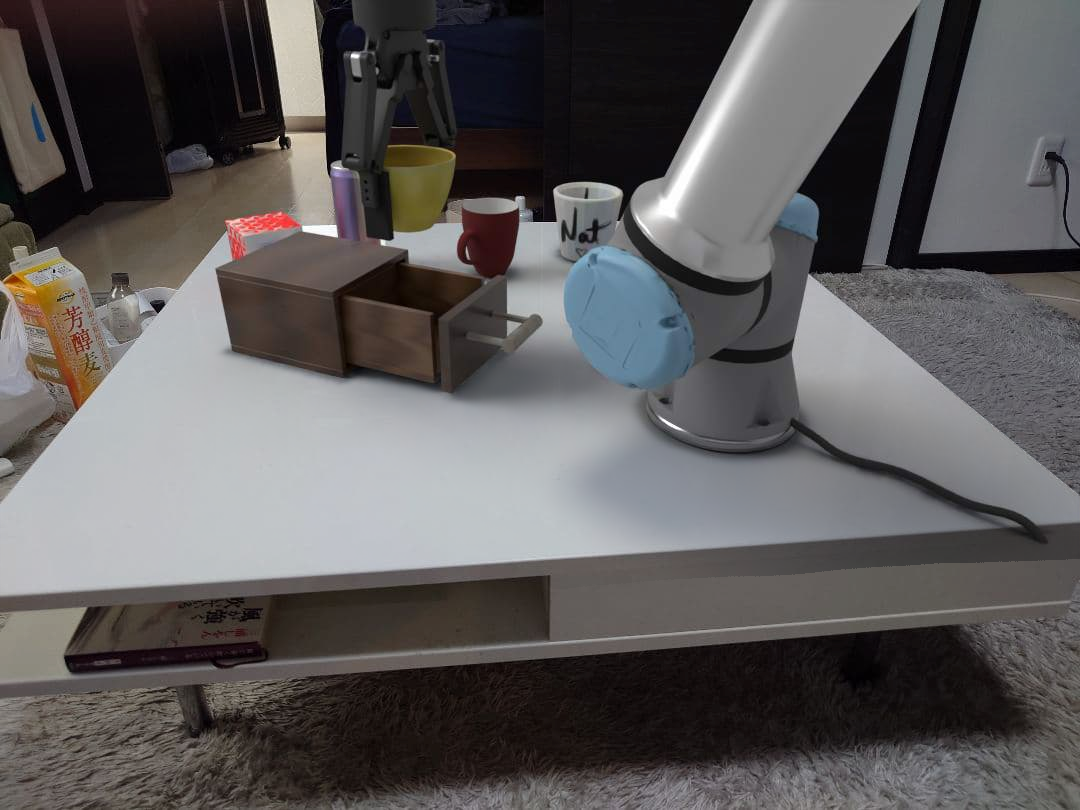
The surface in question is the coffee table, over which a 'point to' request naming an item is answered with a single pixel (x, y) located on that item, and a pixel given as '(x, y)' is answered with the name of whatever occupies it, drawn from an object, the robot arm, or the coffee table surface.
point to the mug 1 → (489, 235)
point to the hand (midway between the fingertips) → (409, 223)
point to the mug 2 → (585, 216)
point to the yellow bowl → (418, 184)
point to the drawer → (429, 323)
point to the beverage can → (348, 204)
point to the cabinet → (298, 297)
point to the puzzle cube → (258, 232)
